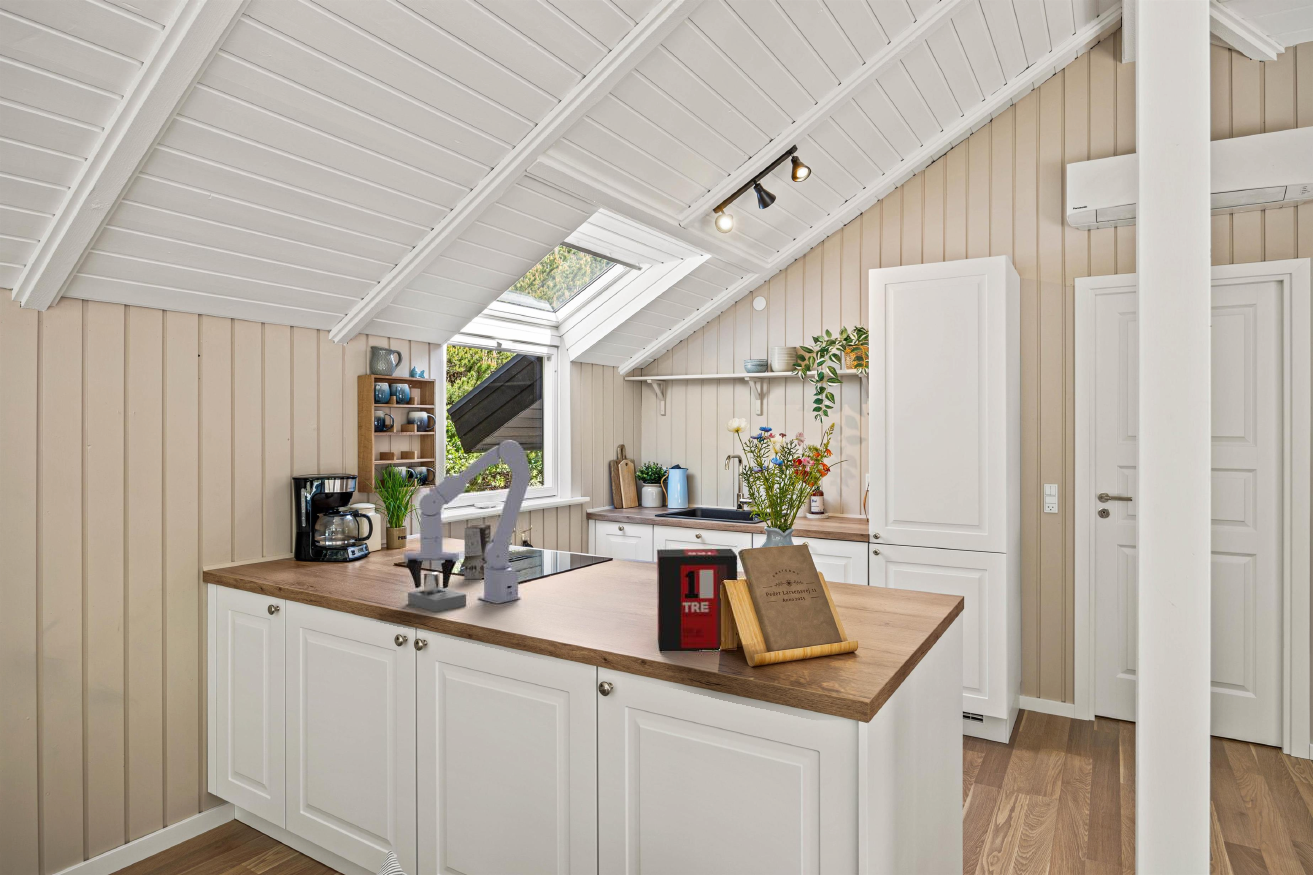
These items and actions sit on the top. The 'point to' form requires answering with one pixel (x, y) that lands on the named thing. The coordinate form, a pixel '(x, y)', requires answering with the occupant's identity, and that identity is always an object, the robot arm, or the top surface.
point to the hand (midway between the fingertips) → (431, 587)
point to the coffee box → (476, 550)
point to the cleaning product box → (691, 597)
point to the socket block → (437, 600)
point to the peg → (431, 583)
